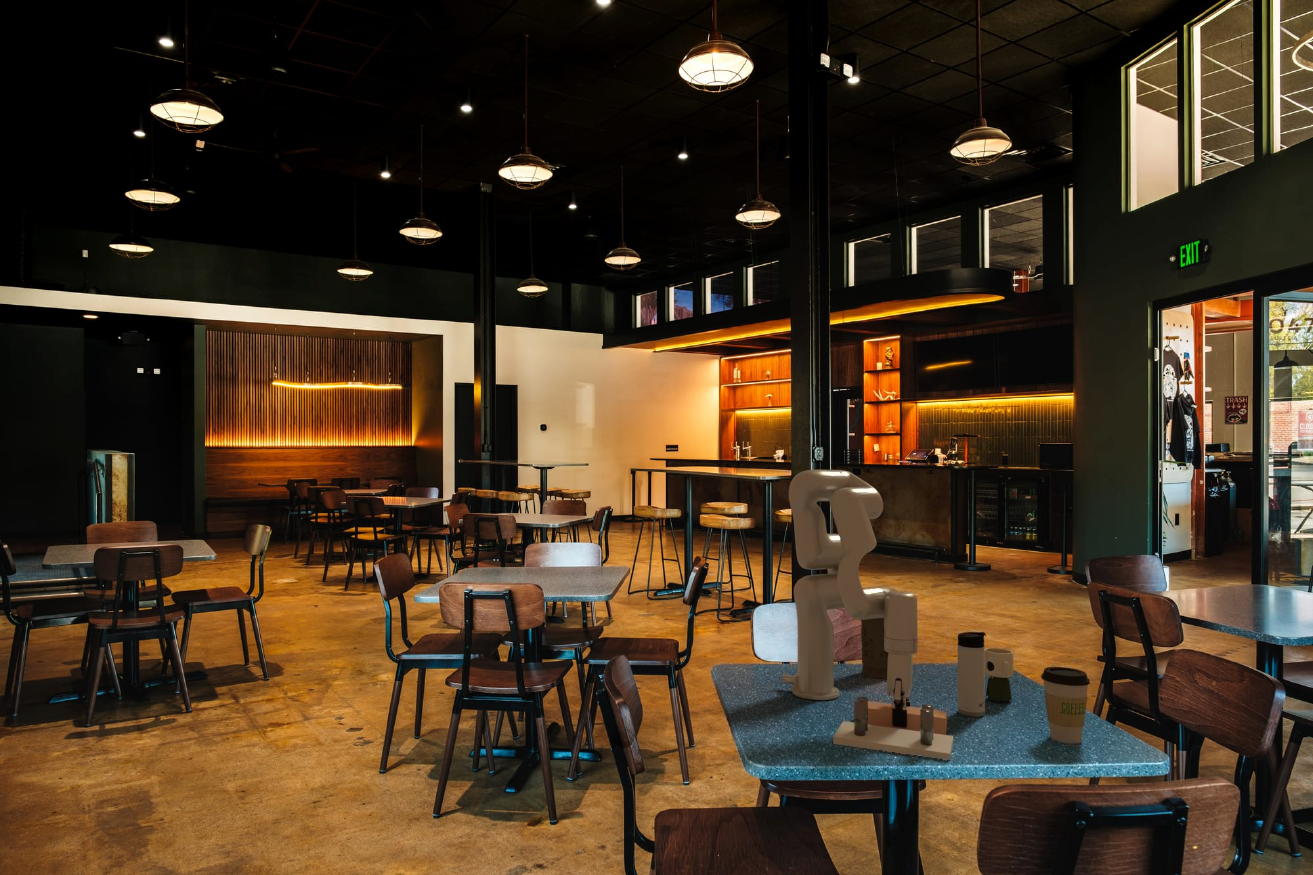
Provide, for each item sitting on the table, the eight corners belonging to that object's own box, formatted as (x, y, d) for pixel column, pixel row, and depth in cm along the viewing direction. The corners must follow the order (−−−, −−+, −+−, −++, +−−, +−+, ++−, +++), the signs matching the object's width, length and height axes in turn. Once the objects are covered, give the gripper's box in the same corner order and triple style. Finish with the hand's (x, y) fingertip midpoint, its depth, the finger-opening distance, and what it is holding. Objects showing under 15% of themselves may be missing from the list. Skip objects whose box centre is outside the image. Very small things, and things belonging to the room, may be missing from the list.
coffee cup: (1089, 749, 171) (1088, 679, 172) (1039, 740, 176) (1038, 672, 177) (1092, 736, 179) (1091, 669, 180) (1044, 728, 185) (1043, 663, 185)
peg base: (833, 743, 173) (833, 736, 173) (843, 727, 184) (843, 721, 184) (950, 760, 163) (949, 753, 163) (953, 742, 174) (953, 735, 174)
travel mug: (988, 718, 192) (988, 635, 193) (960, 716, 194) (959, 633, 194) (983, 710, 198) (983, 630, 199) (955, 708, 200) (955, 628, 200)
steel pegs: (853, 735, 174) (853, 702, 174) (857, 727, 180) (857, 696, 180) (931, 746, 168) (931, 712, 168) (934, 737, 173) (933, 705, 173)
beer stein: (878, 681, 225) (877, 610, 226) (852, 672, 235) (852, 604, 235) (917, 675, 232) (917, 606, 233) (891, 667, 242) (891, 601, 243)
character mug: (977, 694, 213) (976, 645, 213) (1003, 694, 213) (1003, 646, 213) (993, 706, 202) (993, 655, 202) (1021, 706, 202) (1021, 655, 202)
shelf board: (855, 723, 187) (855, 706, 187) (859, 716, 192) (859, 700, 192) (945, 736, 179) (945, 718, 179) (947, 728, 184) (947, 711, 184)
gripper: (889, 636, 196) (889, 710, 195) (879, 650, 180) (879, 731, 179) (921, 639, 193) (921, 714, 192) (913, 653, 177) (914, 735, 176)
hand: (901, 721), depth 185 cm, fingers closed on shelf board, 6 cm apart
